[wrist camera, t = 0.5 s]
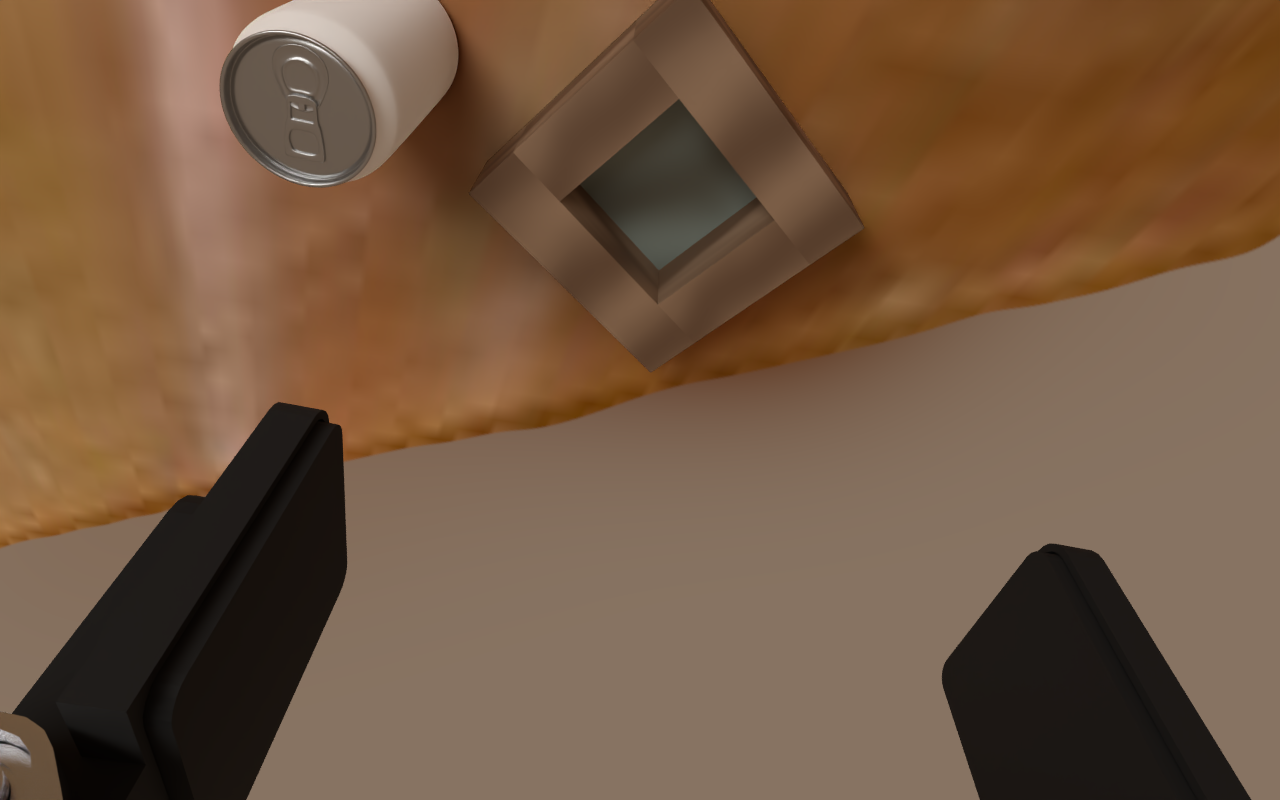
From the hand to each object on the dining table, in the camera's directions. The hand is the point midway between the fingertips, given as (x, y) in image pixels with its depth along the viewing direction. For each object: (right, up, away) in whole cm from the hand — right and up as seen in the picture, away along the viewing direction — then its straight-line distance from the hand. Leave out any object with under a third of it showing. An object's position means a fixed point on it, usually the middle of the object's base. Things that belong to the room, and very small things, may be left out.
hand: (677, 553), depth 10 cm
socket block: (+1, +14, +30) cm, 33 cm away
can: (-13, +20, +27) cm, 36 cm away
